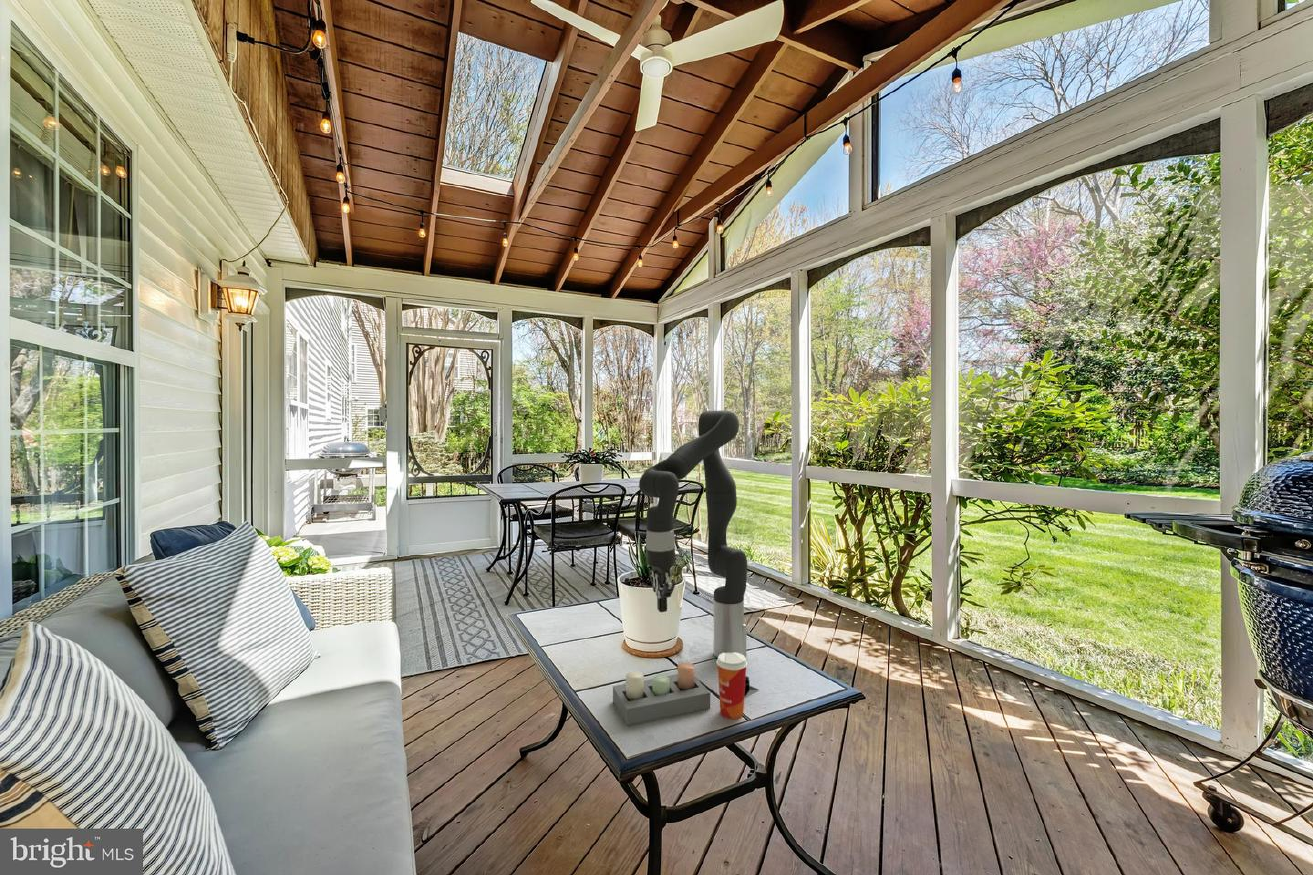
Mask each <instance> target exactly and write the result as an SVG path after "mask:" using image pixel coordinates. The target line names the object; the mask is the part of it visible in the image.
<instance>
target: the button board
mask: <svg viewBox="0 0 1313 875" xmlns="http://www.w3.org/2000/svg"><path fill="white" fill-rule="evenodd" d="M665 676H666V675H665ZM666 677H668V678H669V679H670V693H668V694H663V695H658V696H655V695H654V694H653V693H652V679H653V678H651V679H645V680H644V696H643V697H642V698H640V699H637V700H632V699H629V698H627V697H626V683H625V684H624V683H623V684H619V685H618V684H617V685H613V686H612V702H613V704H614V706H615V707H616V709H617V711H618V713H619V715H620V716H621V718H622V719H623V721H624V723H625V725H626V726H627V727H628V726H632V725H638V724H642V723H646V722H647V723H648V722H652V721H655V720H660V719H665V718H670V717H675V716H680V715H685V714H689V713H693V712H694V713H695V712H698V711H703V710H707V709H708V710H709V709H711V692H710V691H709V690H708V689H707V688H706V687H705V685H703V683H702V682H701V681H700V680H699V679H698V678H697V677H696V676H695V686H694V688H692V689H688V690H685V689H681V688H679V687H678V673H677V674H673V675H667V676H666Z"/></svg>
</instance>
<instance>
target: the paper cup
mask: <svg viewBox="0 0 1313 875" xmlns="http://www.w3.org/2000/svg"><path fill="white" fill-rule="evenodd" d="M716 665H717V674H718V676H717V677H718V694H719V695H718V696H719V697H718V698H719V707H720V708H719V709H720V715H721V716H722V717H724V718H726V719H731V720H736V719H740V718H742V717H743V715H744V708H745V706H744V705H745V698H744V695H745V679H746V676H747V667H748V661H747V659H746V656H744V655H742V654H740V653H736V652H733V653H732V652H727V653H722V654H720V655H719V656H718V658H717V659H716Z"/></svg>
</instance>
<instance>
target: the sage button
mask: <svg viewBox="0 0 1313 875" xmlns="http://www.w3.org/2000/svg"><path fill="white" fill-rule="evenodd" d="M651 679H652V693H653V694H654V695H655V696H658V695H663V694H668V693H670V679H669V678H668V677H666V675H656V676H653V678H651Z"/></svg>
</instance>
